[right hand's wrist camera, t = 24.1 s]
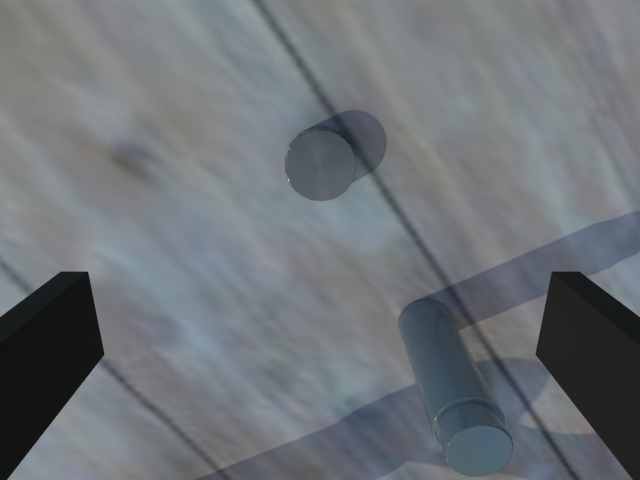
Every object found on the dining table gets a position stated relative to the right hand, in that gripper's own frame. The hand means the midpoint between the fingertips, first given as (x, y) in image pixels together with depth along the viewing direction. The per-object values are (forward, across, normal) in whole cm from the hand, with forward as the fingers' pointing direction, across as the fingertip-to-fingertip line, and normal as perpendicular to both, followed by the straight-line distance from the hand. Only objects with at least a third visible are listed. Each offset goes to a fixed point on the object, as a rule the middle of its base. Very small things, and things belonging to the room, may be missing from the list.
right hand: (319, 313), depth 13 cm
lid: (+24, 0, 0) cm, 24 cm away
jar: (+26, +10, -16) cm, 32 cm away
